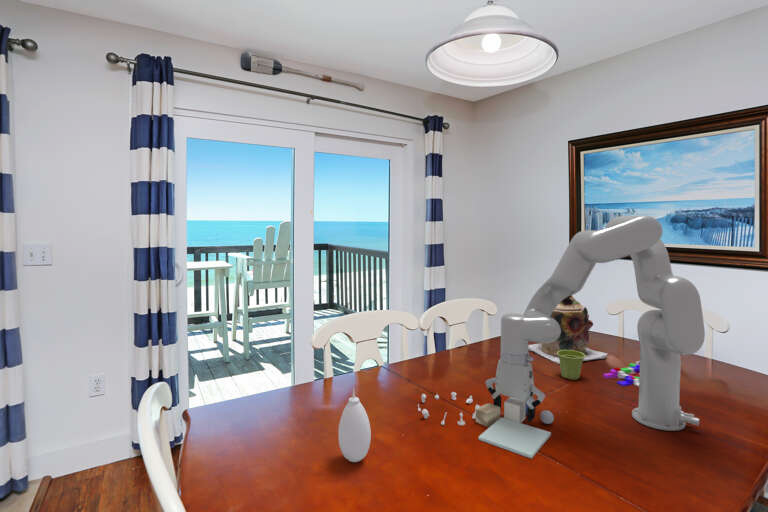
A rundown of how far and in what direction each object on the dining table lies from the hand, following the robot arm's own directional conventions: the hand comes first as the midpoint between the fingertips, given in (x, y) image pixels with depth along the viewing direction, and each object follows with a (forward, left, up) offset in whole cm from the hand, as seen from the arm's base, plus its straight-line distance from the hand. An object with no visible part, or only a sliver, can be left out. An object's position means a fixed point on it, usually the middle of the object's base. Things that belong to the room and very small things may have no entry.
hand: (513, 415), depth 117 cm
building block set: (-24, -59, -2) cm, 64 cm away
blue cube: (0, -8, -2) cm, 8 cm away
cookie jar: (+7, -72, -2) cm, 72 cm away
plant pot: (-3, -45, -2) cm, 45 cm away
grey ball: (-8, -4, 0) cm, 9 cm away
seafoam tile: (-4, +9, -1) cm, 10 cm away
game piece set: (+18, +6, -2) cm, 19 cm away
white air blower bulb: (+22, +43, -2) cm, 48 cm away
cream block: (0, -1, -2) cm, 2 cm away
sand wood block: (+6, +5, -2) cm, 8 cm away
